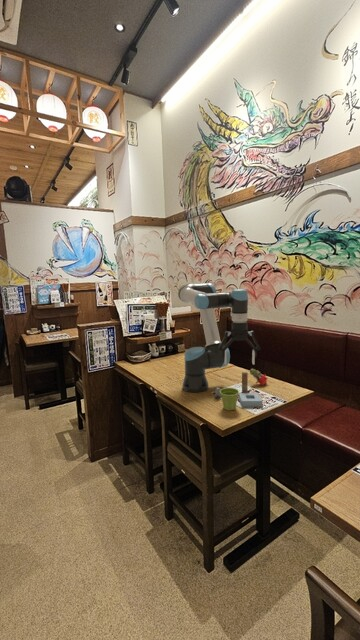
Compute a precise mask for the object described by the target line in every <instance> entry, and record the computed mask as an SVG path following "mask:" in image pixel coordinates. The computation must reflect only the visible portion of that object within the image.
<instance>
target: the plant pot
mask: <svg viewBox="0 0 360 640" xmlns="http://www.w3.org/2000/svg"><path fill="white" fill-rule="evenodd" d="M220 389H221V390H220V393H221V402H222V406H223V407H222V408H223V409H224V410H226V411H233V410H234V411H235V410H236V409H237V401H238V397H239V393H240V391H239V389H237V388H234V387H224V388H220Z"/></svg>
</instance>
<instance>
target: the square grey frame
mask: <svg viewBox="0 0 360 640" xmlns="http://www.w3.org/2000/svg"><path fill="white" fill-rule="evenodd" d="M238 399H239V404H240V406H241V407H242V408H243V407H244V408H250V407H251V408H253V407H254V408H257V407H259V406H261V407H259V408H262V407H263V399H262V397H261V396H260V394H259V392H248V393H242V392H239V394H238Z"/></svg>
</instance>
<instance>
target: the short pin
mask: <svg viewBox="0 0 360 640" xmlns="http://www.w3.org/2000/svg"><path fill="white" fill-rule="evenodd" d="M221 389H222V388H221V387H218V386H216V387H214V398H215V399H220V398H221V399H222V396H221V393H220V390H221Z"/></svg>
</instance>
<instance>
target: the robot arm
mask: <svg viewBox="0 0 360 640" xmlns="http://www.w3.org/2000/svg"><path fill="white" fill-rule="evenodd" d="M248 294H249V293H248V290H247V289H244V288H243V289H242V288H241V289H238V288H236V289H232V291H231V292H230V291H224V292H217V289H216V287H215V285H214V284H213V283H211V282H202V283H201V282H199V283H187V284H184V285H183V286H181V287H180V288H179V290H178V292H177V295H178V298H179V300H180V301H181V302H183V303H185V304H186V303H190V304H193V305H194V306H195V308H196V309H197V310H199V312H200V317H201V318H200V319H201V322H202V328H203V331H204V337H205V338H204V339H205V343H206V344H205V345H204V347H203V346H194V347H189V348H187V349H186V350H185V352H184V359H183V360H184V378H183V382H182V389H183V390H184V391H186V392H188V393H189V392H190V393H202V392H205V391H207V390H208V389H209V382H208V379H207V377H206V370H211V369H218V368H224V367H227V366H228V365H229V363H230V359H231V354H230V349H229V347H230V346H231V345H232V343H234V342H235V341H237V342H238V341H246V343H247V344H248V345H249V346H250V348H251V349H252V351H251V352H252V353H251V356H252V357H251V363H252V365H255V358H257V357H258V351H261V350H262V348H261V346H260V344H259V342H258V340H257V338H256V337H255V331H254V330H251V331H248V322H247V321H248V309H249V307H248V305H249V304H248V303H249V297H248ZM223 308H231V321H232V322H231V331H228V330H225V332H224V337H222V341H221V337H220V332H219V331H220V330H219V328H218V327H219V326H218V322H217V319H216V314H215V310H214V309H223ZM230 335H231V338H230V339H229V340H227V339H228V337H230ZM248 336H250V337H251V338H252V341H253V342H254V344H255V345H254V344H253V343H252V342H251V341H250V340H249V339H248ZM226 341H227V343H226ZM225 343H226V344H225ZM255 346H256V347H255Z"/></svg>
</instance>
